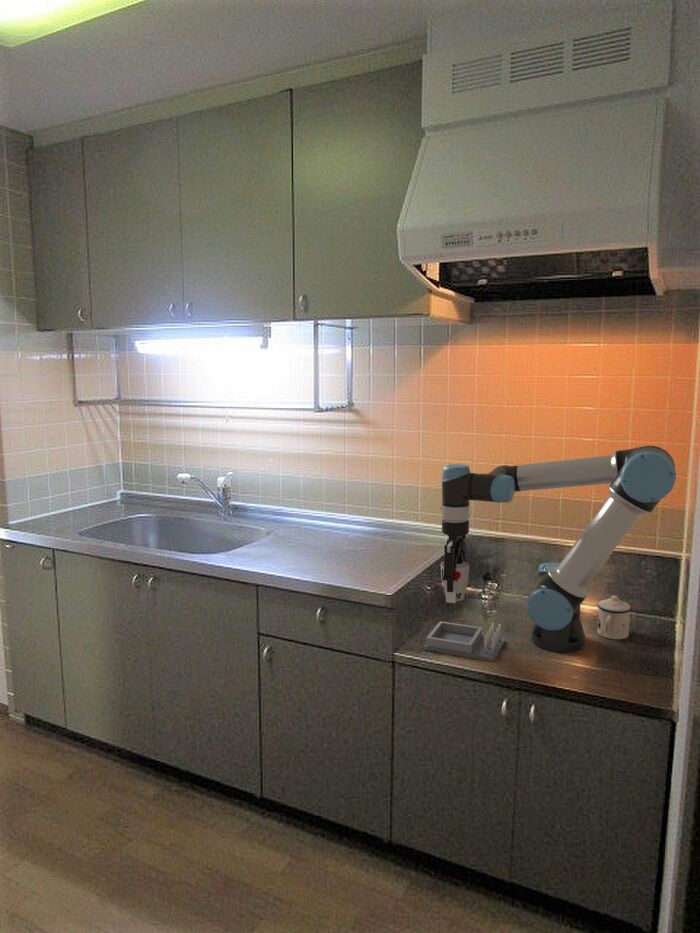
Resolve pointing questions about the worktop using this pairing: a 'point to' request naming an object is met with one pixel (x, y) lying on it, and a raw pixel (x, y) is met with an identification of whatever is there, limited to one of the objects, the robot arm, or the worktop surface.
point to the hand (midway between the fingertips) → (454, 597)
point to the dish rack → (465, 641)
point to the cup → (458, 579)
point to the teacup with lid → (613, 618)
